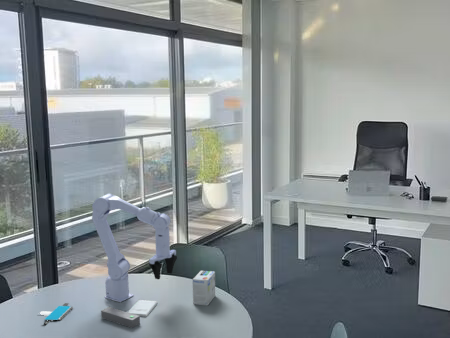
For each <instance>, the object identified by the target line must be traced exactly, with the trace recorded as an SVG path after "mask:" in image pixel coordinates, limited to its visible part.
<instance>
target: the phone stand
mask: <svg viewBox="0 0 450 338" xmlns="http://www.w3.org/2000/svg"><path fill="white" fill-rule="evenodd" d="M73 308H74V306H71V305H70V306H69V303H68V302H65V303H64V304H63V305H57V307H55V309H53V310H52V311H46V310H45V311H44V310H41V311H40V312H39V313H40V314H41V315H44V316H43V317H45V318H44V320H45V321H46V322H47V323H46V322H45V321H44V322H45V324H46V325H47V324H49V323H50V322H52V321H51V320H57V321H58V320H59V321H60V320H61V321H62V319H64V317H66V316H67V315H68V314H69V313H70V312H71V311H72V310H73ZM71 309H72V310H71ZM70 310H71V311H70ZM69 311H70V312H69ZM68 312H69V313H68ZM67 313H68V314H67ZM66 314H67V315H66ZM65 315H66V316H65ZM47 320H48V321H47ZM49 321H50V322H49Z"/></svg>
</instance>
